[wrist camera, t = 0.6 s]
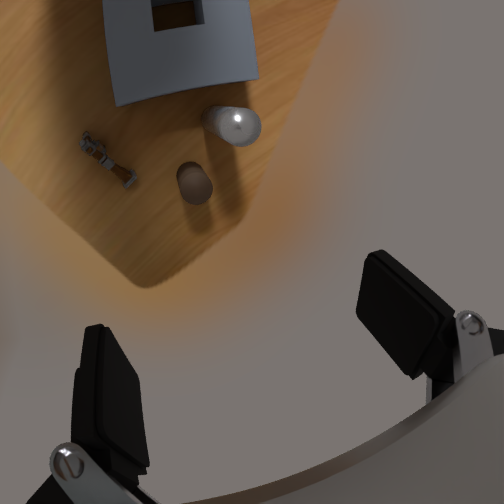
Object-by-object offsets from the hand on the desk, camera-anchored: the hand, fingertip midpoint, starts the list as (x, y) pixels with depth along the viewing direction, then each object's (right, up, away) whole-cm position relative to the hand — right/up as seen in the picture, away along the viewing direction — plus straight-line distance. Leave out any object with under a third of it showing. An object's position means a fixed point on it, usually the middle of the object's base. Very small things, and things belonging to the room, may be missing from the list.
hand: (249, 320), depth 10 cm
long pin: (-4, +17, +21) cm, 27 cm away
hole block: (-8, +27, +13) cm, 31 cm away
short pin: (-7, +11, +23) cm, 27 cm away
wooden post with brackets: (-16, +13, +19) cm, 28 cm away
